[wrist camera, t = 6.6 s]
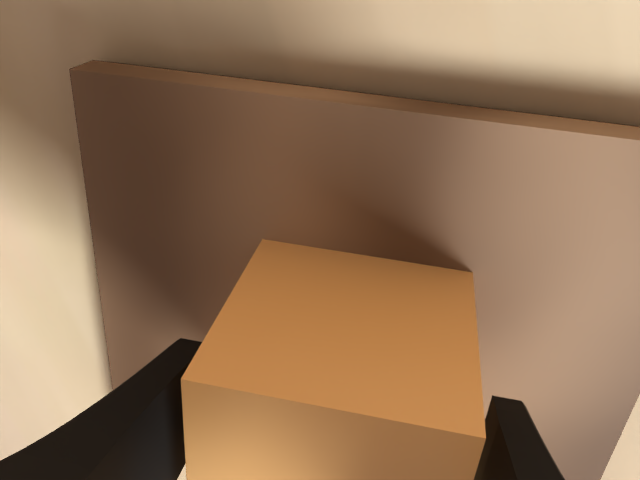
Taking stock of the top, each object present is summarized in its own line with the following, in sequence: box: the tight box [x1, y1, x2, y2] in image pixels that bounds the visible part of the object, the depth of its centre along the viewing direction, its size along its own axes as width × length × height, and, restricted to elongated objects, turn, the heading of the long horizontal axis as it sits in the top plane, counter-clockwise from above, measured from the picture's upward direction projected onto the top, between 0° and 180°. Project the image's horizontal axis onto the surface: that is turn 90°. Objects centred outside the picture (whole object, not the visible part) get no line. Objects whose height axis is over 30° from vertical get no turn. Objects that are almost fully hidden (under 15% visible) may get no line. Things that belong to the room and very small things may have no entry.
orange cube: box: [181, 239, 486, 480], centre depth 13 cm, size 5×5×5 cm
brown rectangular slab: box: [69, 60, 640, 480], centre depth 14 cm, size 14×12×5 cm
